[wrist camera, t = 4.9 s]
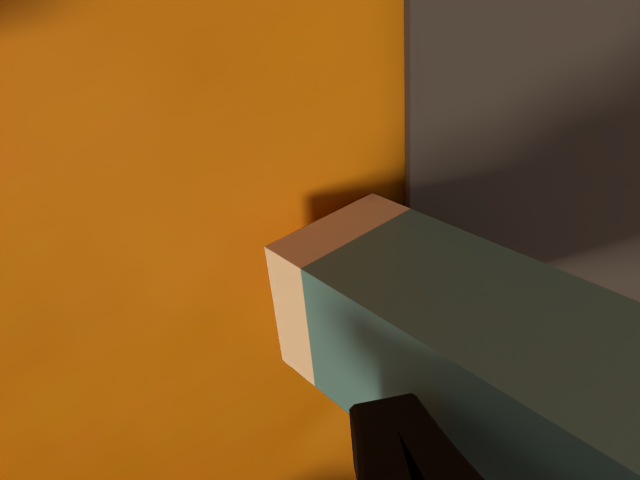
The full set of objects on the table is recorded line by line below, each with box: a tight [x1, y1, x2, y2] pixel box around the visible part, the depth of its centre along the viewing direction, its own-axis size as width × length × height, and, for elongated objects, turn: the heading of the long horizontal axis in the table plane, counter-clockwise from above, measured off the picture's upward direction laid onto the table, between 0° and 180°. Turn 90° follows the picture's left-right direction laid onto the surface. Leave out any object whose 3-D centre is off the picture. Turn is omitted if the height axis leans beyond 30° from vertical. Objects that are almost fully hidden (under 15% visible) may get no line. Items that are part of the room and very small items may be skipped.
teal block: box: [265, 193, 640, 480], centre depth 13 cm, size 4×4×10 cm
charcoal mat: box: [404, 0, 640, 302], centre depth 18 cm, size 20×13×1 cm, turn 5°
